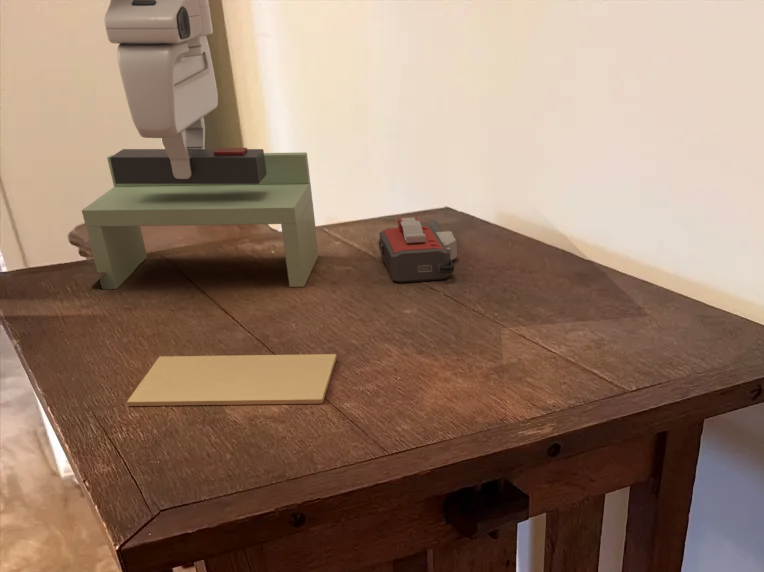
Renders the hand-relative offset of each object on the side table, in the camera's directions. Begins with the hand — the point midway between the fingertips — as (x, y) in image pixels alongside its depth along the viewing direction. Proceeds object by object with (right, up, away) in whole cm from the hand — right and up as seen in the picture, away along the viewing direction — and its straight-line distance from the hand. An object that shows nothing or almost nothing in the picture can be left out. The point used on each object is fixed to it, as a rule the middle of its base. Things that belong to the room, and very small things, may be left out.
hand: (190, 171), depth 97 cm
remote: (0, -1, 0) cm, 1 cm away
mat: (+10, -27, -18) cm, 34 cm away
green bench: (+1, -8, +7) cm, 11 cm away
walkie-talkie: (+24, -5, +10) cm, 26 cm away
